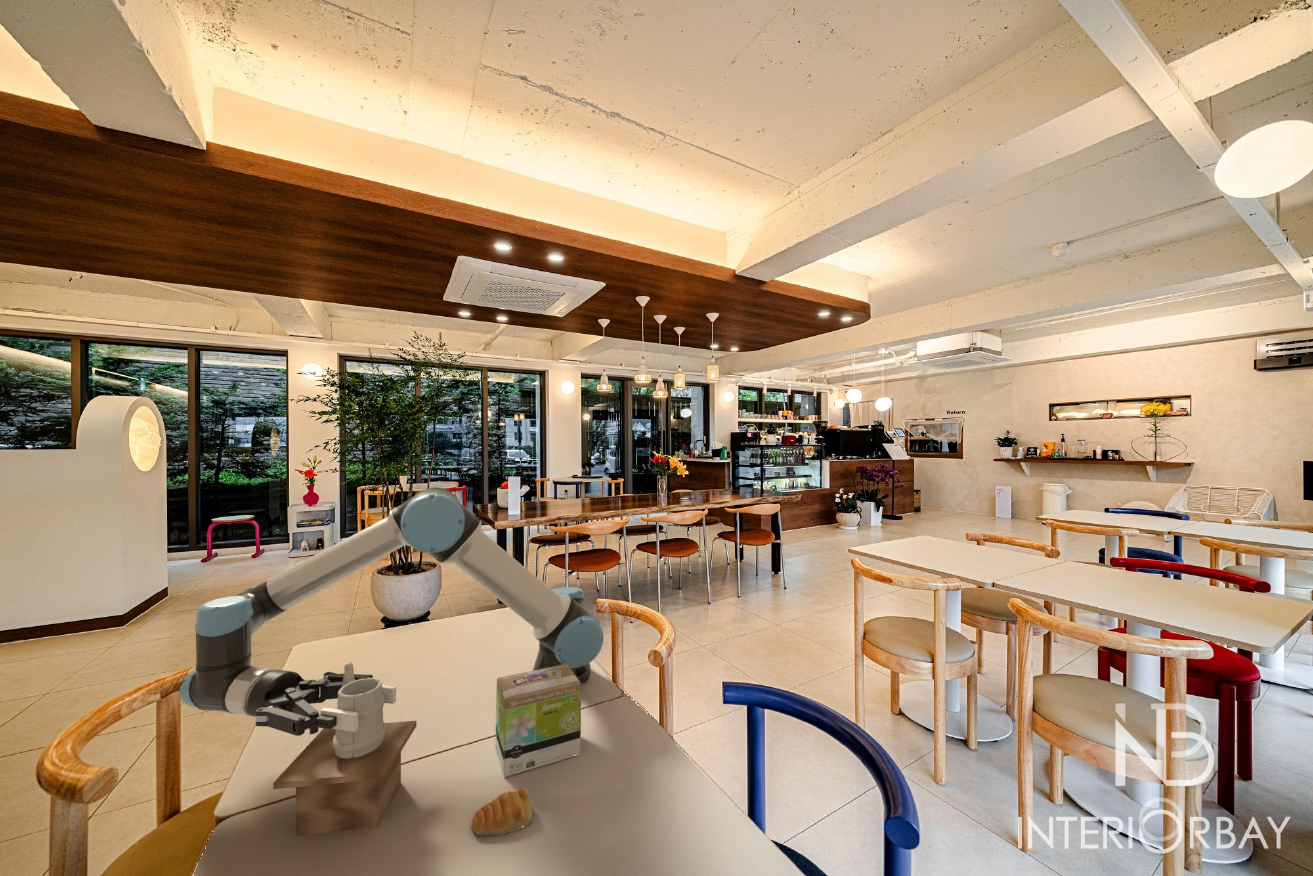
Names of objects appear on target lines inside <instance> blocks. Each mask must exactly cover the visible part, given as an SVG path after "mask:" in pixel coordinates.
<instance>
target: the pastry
mask: <svg viewBox="0 0 1313 876" xmlns="http://www.w3.org/2000/svg"><path fill="white" fill-rule="evenodd" d="M528 791H529V790H528V789H527V788H526V787H524V786H522V787H521V788H520V789H516V790H511V791H508V792H502V793H500V794H499V795H498V796H497V797H496V798H494V799H493V800H492V801H491V802H487V803H486V804H484V806H482V807H480V809H479V810H477V811H476V812H475V813H474V815H473V817H472V819H471V823H470V824H471V826H470V828H471V831H472V832H473V833H474V834H476V835H477V836H480V837H484V835H485V836H494V835H493V834H496V835H495V836H502V835H504V834H506V833H505V832H508V833H510V832H509V831H511V832H513V831H512V830H515V831H517V830H516V829H518V830H520V829H519V828H521V827H522V826H525V827H527V826H529V825H530V824H531V822H532V820H533V809H532V806H531V803H530V795H529V792H528ZM529 823H530V824H529ZM528 824H529V825H528ZM526 825H527V826H526ZM521 829H522V828H521ZM503 833H504V834H503ZM487 834H489V835H487ZM497 834H498V835H497ZM501 834H502V835H501Z"/></svg>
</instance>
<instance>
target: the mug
mask: <svg viewBox="0 0 1313 876" xmlns="http://www.w3.org/2000/svg"><path fill="white" fill-rule="evenodd" d="M343 667H344V669H343V670H344V672H343V674H344V677H343V683H342V688H341V689H340V690H339V691H338V699H337V705H336V707H335V708H334V709H338V710H345V711H352V712H358V730H356V731H355V732H351V731H345V730H338V729H336V735H335V736H334V738H333V748H334V749H335V754H337V756H338V757H340V758H352V757H353V758H356V757H359V756H363V755H365V754H368V753H370V752H372V751H373V750H375V749H376V748H378V747H379V745H380V744H381V743H382V742H383V739H384V735H385V732H386V725H385V723H386V722H384V706H385V704H386V703H385V701H384V696H383V695H382V685H383V681H381V679H380V678H377V677H376V678H375V677H373V678H367V679H365V678H364V679H359V680H355V679H354V674H355V671H354V670H355V669H354V665H353V662H347V663H345V664H344V665H343Z"/></svg>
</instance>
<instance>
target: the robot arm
mask: <svg viewBox="0 0 1313 876" xmlns="http://www.w3.org/2000/svg"><path fill="white" fill-rule="evenodd" d="M404 546H409V547H412V548H414V549H415V550H417V551H419V552H422V553H427V554H428V556H431V557H432V558H433V559H435V560H436V561H437V562H439V563H440V564H441V565H443V564H445V565H446V564H453V565H455V566H456V567H457V568H459V569H460V570H462V572H464V573H465V574H466V575H467V576H469V577H470V578H471V579H472V580H474V581H475V582H477V584H479V585H480V586H481V587H483V588H484V589H485V590H486V591H487V592H488V593H490V594H492V595H493V596H494V597H495V598H497V599H498V600H499V601H500V602H501V603H503V604H504V605H505V606H507V607H508V608H509V609H511V611H513V612H514V613H515V614H517V615H518V617H520V618H522V619H523V620H524V621H525V622H526V623H528V624H529V625H530V626H532V627H533V636H534V638H535V639H536V640H537V641H538V642H539V643H538V644H539V646H538V647H539V648H538V652H537V656H536V658H535V662H534V665H533V668H532V671H534V670H539V669H543V668H548V667H553V666H558V665H563V664H568V665H569V667H570V668H571V670H572V671H573V673H574V674H575V675H576V677H577V678H578V680H579V681H580V683H581V686H583V685H584V684H583V683H585V682H586V681H587V680H588V679H590V678H591V675H592V674H591V667H592V666H591V662H593V661H594V660H595V659H596V658H597V656H598V655H599V654H600V652H601V650H602V647H603V644H604V638H605V637H604V636H605V635H604V631H603V628H602V626H601V625H602V624H601V623H600V621H599V620H598V619H596V617H595V616H594V615H593V614H592V613H591V611H589V609H588V608H587V607H586V606H585V598H586V597H585V593H584V592H585V591H584V590H583V589H582V588H580V587H575V586H572V587H571V586H568V587H567V586H566V587H565V586H563V587H556V588H551V587H549V586H548V585H547V584H545V583H544V582H543V581H541V579H539V578H538V576H536V575H534V573H532V572H531V571H530V570H528V569H527V568H526V567H525V566H524V565H522V563H520V562H519V561H518V560H517V559H516V558H514V557H513V556H512V555H510V554H509V553H508V552H507V551H506V550H504V548H502V547H501V546H500V545H499V544H497V543H496V542H495V541H494V540H492V538H490V536H488V535H487V534H486V533H484V532H483V530H482V521H481V520H480V518H478V517H477V516H476V515H474V514H473V513H472V511H470V510H468V508H466V507H465V505H463V504H461V501H460V500H459V498H458V497H457V495H456V494H455V493H453V492H452V491H450V490H449V489H445V488H443V487H429V488H425V489H423V490H420V491H419V492H417V493H415V494H414V496H412V497H411V498H409V499H407V500H406V501H405V502H403V503H402V504H400V505H398V506H396V507H394V508H393V509H391V510H389V513H388V515H387V517H385V518H382V519H381V520H379V521H378V522H376V523H374V524H372V525H369V526H367V527H366V528H364V529H362V530H360V531H358V532H356V533H353V534H352V535H351V536H349V537H347V538H344V539H343V540H342V541H339V542H338V543H336V544H334V545H332V546H330V547H328V548H327V549H324V550H322V551H321V552H318V553H317V554H314V555H313V556H311V557H309V558H307V559H305V560H303V561H302V562H299V563H297V564H295V565H293V566H292V567H290V568H288V569H286V570H285V571H284V570H283V572H280V573H279V574H276V575H275V576H273V577H271V578H269V579H268V580H266V581H264V582H262V583H260V584H258V585H255V586H252V587H249V588H247V589H245V590H243V591H242V592H240V593H239V594H237V595H234V596H233V595H232V596H226V597H220V598H215V599H213V600H211V601H207V602H205V603H203V604H202V605H200V606H199V607H198V609H197V612H196V622H195V624H194V630H195V667H194V668H193V669H191V670H190V672H189V673H188V674H186V675H185V677H184V680H183V682H182V685H181V686H180V689H179V697H180V700H181V701H182V703H184V704H185V705H187V706H190V707H193V708H197V709H198V710H201V711H214V712H216V711H217V712H225V713H230V714H234V715H235V714H237V715H243V716H249V717H255V726H256V727H267V728H271V729H274V730H277V731H281V732H284V733H287V734H290V735H294V736H296V737H298V736H302V735H304V734H305V733H306V731H307V730H309V735H315V734H317V733H318V732H319V729H323V728H325V729H338V730H345V731H351V732H355V731H356V730H358V712H352V711H345V710H338V709H335V708H331V707H323V708H321V709H320V713H319V710H318V709H316V708H315V707H314V706H313V705H311V704H323V703H324V702H325V701H327V700H335V699H336V700H338V691H339V690H340V689H341V688H342V683H343V677H344V673H336V672H332V671H326V672H324V673H323V678H320V679H318V680H316V679H304V678H303V677H302V676H301V675H300V674H299V673H297V672H295V671H292V670H291V671H290V670H282V669H277V668H267V667H258V666H252V639H253V638H252V637H253V635H254V634H255V633H256V631H258V630H259V628H261V627H262V626H263V625H264V624H265V623H267V622H268V621H270V620H272V619H274V618H275V617H278V616H279V615H282V614H283V613H284V612H286V611H287V610H289V609H291V608H293V607H295V606H297V605H298V604H301V603H302V602H304V601H305V600H307V599H309V598H311V597H313V596H315V595H317V594H318V593H320V592H322V591H324V590H326V589H327V588H329V587H331V586H333V585H335V584H337V583H338V582H340V581H342V580H344V579H345V578H348V577H349V576H351V575H354V573H356V572H359V571H360V570H362V569H364V568H366V567H367V566H369V565H371V564H373V563H375V562H377V561H378V560H381V559H382V558H384V557H386V556H388V555H390V554H391V553H393V552H395V551H397V550H399V549H400V548H402V547H404ZM590 674H591V675H590ZM589 677H590V678H589ZM364 678H365V679H367V678H374V675H373V674H359V673H358V674H357V673H354V679H355V680H359V679H364ZM588 681H589V680H588ZM588 681H587V682H588ZM587 682H586V683H587ZM586 683H585V684H586ZM582 684H583V685H582ZM382 695H383V696H384V701H385V704H390V705H393V704H395V703H396V702H397V686H396V685H395V686H394V685H387V684H382Z"/></svg>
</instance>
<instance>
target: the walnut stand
mask: <svg viewBox="0 0 1313 876" xmlns="http://www.w3.org/2000/svg"><path fill="white" fill-rule="evenodd" d="M384 723H385V725H386V732H385V735H384V739H383V742H382V743H381V744H380V745H379V747H378V748H376V749H375V750H373V751H372V752H370V753H368V754H365V755H363V756H359V757H356V758H353V757H352V758H340V757H338V756H337V754H335V749H334V748H333V738H334V736H335V735H336V729H325V728H321V729H322V730H320V731H319V733H318V734H316V735H315V737H314V738H313V739H312V740H311V741H310V742H309V743H308V745H306V747H305V748H304V749H303V750H302V751H301V752H300V753H299V754H298V755H297V756H296V758H294V760H293V761H292V762H291V763H289V765H288V766H287V767H286V769H284V771H283V772H282V773H281V774H280V775H279V776H278V777H277V778H276V779H275V781H274V782H273V783H272V784H273V786H272V787H273V789H272V790H281V789H289V788H290V789H291V788H295V835H294V836H297V837H298V836H306V835H313V834H314V835H315V834H323V833H332V832H333V833H334V832H343V831H350V830H352V831H353V830H359V829H360V830H361V829H370V828H371V829H372V828H376V827H378V825H379V823H380V821H381V820H382V818H383V816H384V814H385V812H386V810H387V809H388V807H389V805H390V803H391V802H392V800H393V798H394V796H395V794H396V792H397V791H398V789H399V788H400V785H401V783H402V751H403V749H404V748H405V746H406V744H407V742H408V741H409V739H410V737H411V736H412V734H413V732H414V731H415V729H416V728H417V723H418V722H417V720H407V721H395V722H392V721H391V722H384Z"/></svg>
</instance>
